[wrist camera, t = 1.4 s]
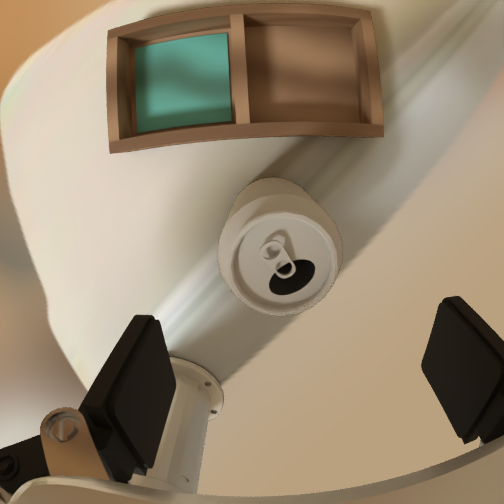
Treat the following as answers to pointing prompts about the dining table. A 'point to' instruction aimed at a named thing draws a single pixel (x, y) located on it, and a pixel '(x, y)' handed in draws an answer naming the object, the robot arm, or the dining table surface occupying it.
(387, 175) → the dining table surface
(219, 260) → the can
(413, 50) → the dining table surface
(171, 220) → the dining table surface
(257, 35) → the tray
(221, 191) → the dining table surface
